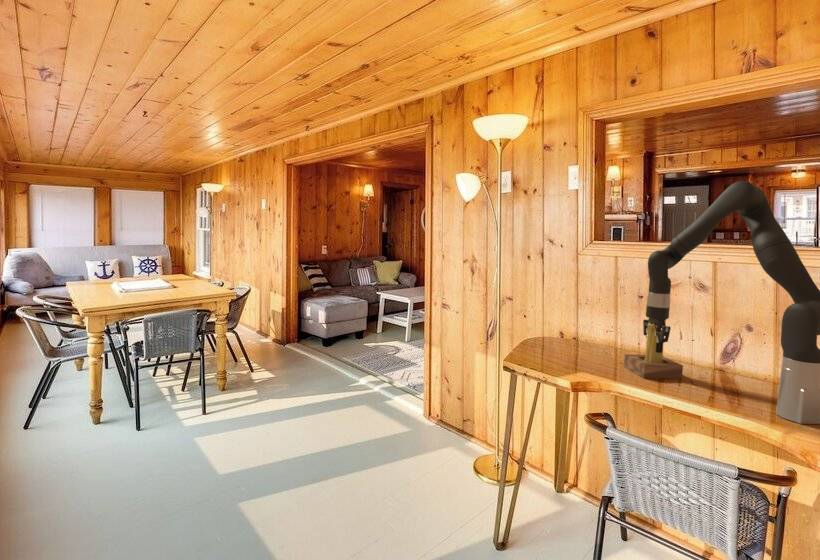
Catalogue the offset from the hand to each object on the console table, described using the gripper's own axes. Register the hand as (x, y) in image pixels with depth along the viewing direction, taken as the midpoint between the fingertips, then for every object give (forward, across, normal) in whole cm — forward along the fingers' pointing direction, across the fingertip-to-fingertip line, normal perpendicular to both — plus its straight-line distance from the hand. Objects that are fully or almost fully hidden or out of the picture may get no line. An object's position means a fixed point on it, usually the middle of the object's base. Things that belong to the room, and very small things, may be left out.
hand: (654, 350), depth 173 cm
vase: (+5, 0, 0) cm, 5 cm away
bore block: (+9, 0, 0) cm, 9 cm away
